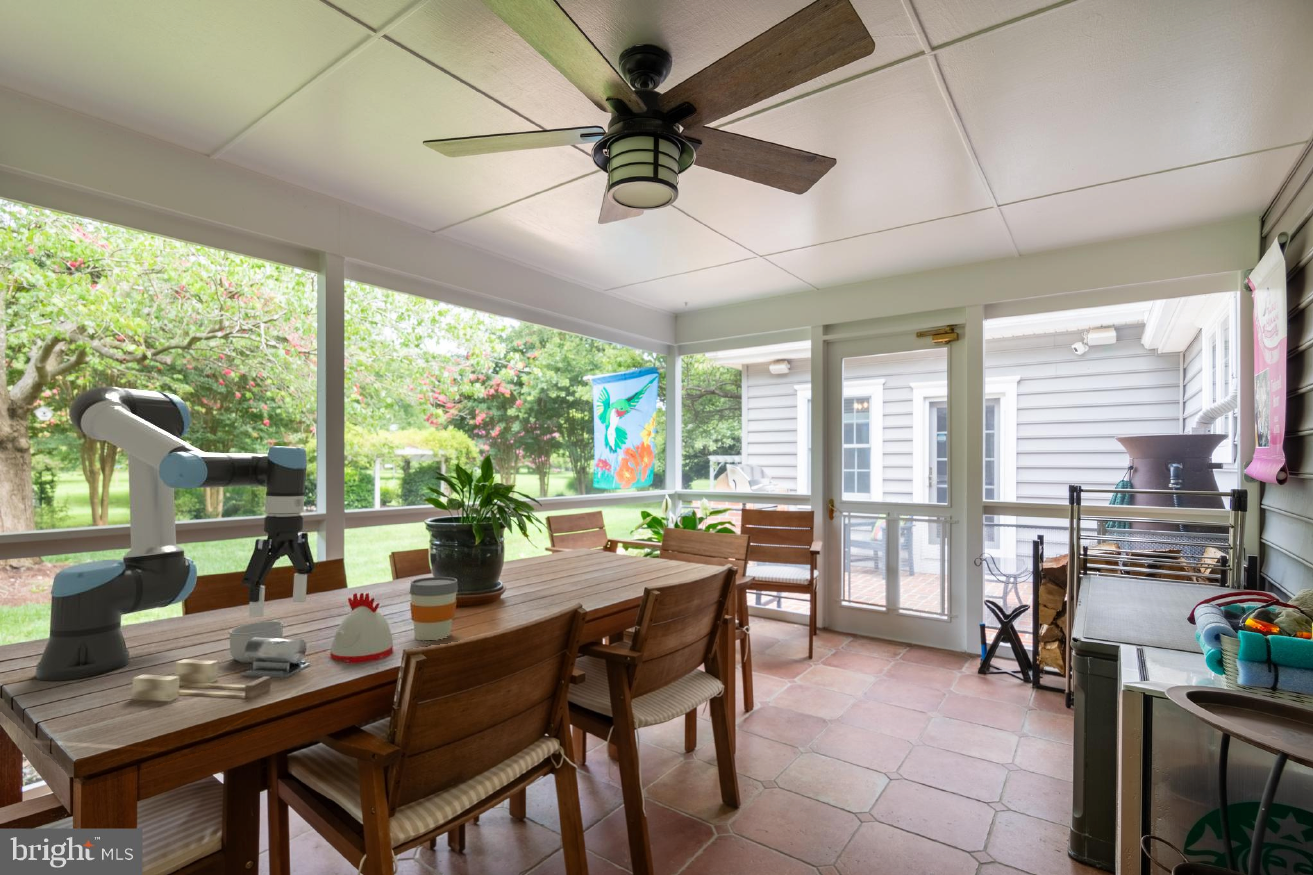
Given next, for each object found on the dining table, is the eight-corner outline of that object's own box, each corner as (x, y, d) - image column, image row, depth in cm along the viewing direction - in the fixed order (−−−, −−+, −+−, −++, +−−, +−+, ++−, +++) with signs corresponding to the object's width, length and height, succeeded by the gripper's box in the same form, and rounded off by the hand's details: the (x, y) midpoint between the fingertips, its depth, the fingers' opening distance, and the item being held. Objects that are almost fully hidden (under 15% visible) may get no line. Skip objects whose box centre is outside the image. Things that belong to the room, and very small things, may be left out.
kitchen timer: (355, 644, 157) (358, 586, 158) (403, 647, 154) (406, 588, 155) (317, 661, 143) (319, 597, 144) (369, 665, 141) (371, 600, 141)
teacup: (255, 669, 137) (256, 633, 137) (215, 665, 139) (217, 630, 139) (302, 650, 151) (304, 618, 151) (265, 647, 153) (267, 615, 153)
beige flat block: (131, 701, 118) (132, 678, 118) (182, 680, 129) (183, 659, 129) (239, 707, 116) (240, 683, 116) (281, 685, 127) (282, 664, 127)
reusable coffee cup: (448, 627, 174) (450, 575, 174) (463, 638, 164) (464, 582, 164) (402, 634, 166) (404, 579, 167) (415, 645, 156) (417, 587, 157)
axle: (243, 662, 133) (245, 639, 134) (259, 658, 138) (262, 635, 138) (289, 665, 132) (292, 641, 133) (304, 660, 137) (307, 637, 138)
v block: (242, 677, 131) (243, 663, 132) (269, 665, 139) (269, 652, 139) (285, 679, 130) (286, 665, 131) (309, 667, 138) (310, 654, 139)
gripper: (258, 520, 124) (252, 624, 123) (334, 510, 149) (329, 597, 148) (224, 518, 124) (218, 622, 124) (305, 509, 149) (300, 595, 148)
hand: (278, 609), depth 136 cm, fingers open, 13 cm apart
